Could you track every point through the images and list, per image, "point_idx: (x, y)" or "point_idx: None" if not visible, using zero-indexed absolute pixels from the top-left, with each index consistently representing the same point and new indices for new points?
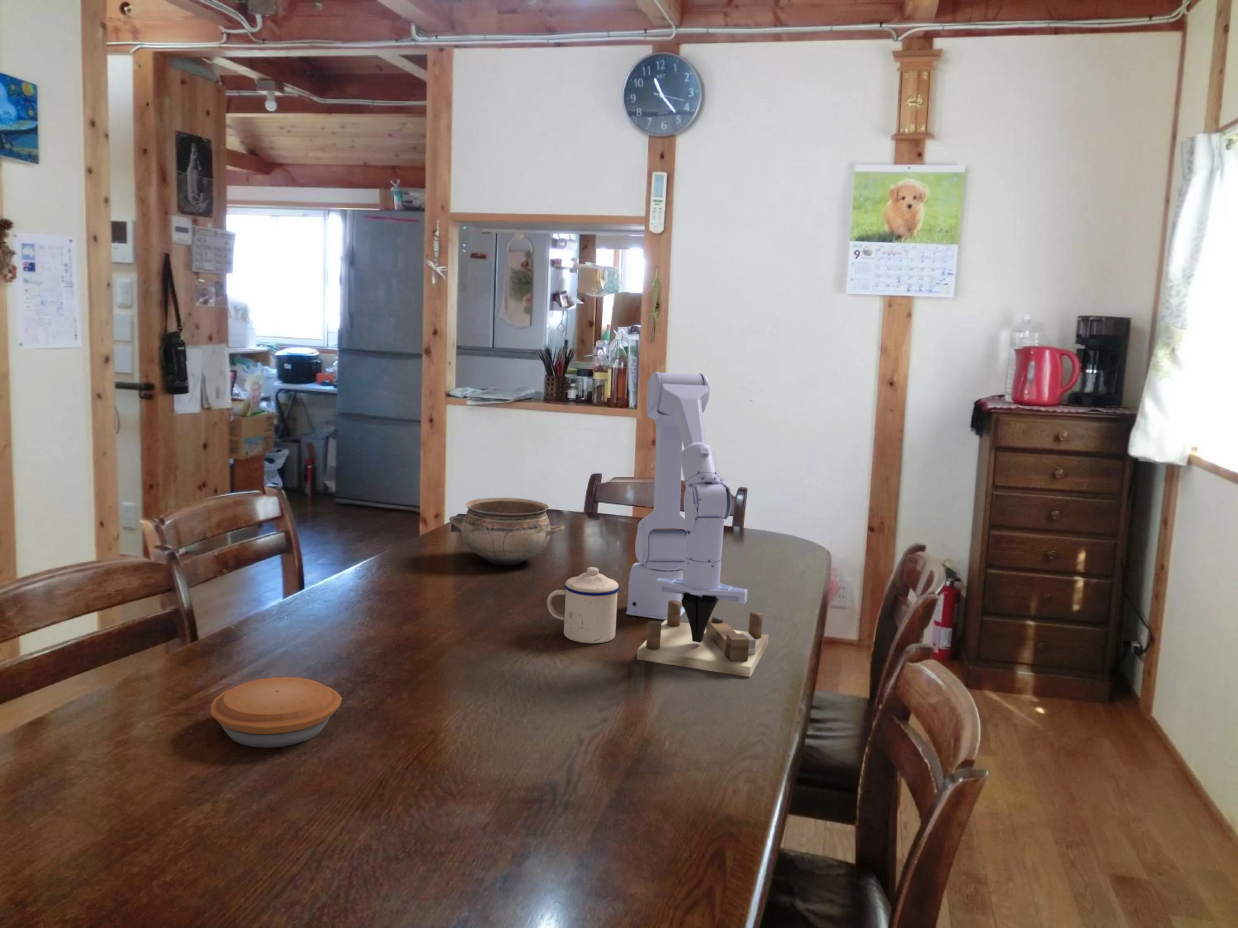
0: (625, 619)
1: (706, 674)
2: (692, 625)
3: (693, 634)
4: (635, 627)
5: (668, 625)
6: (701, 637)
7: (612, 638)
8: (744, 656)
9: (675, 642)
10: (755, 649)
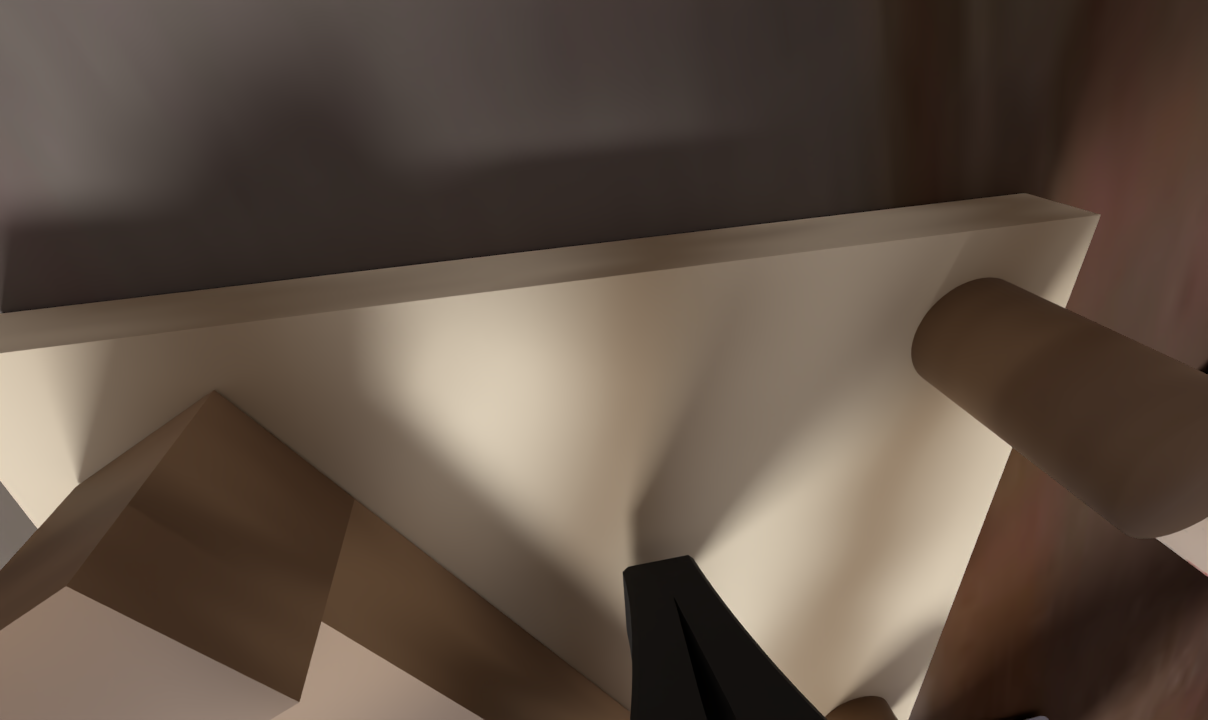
0: (1046, 676)
1: (396, 155)
2: (753, 674)
3: (704, 600)
4: (1006, 633)
5: (879, 697)
6: (629, 610)
7: None
8: (74, 502)
9: (806, 517)
10: None
